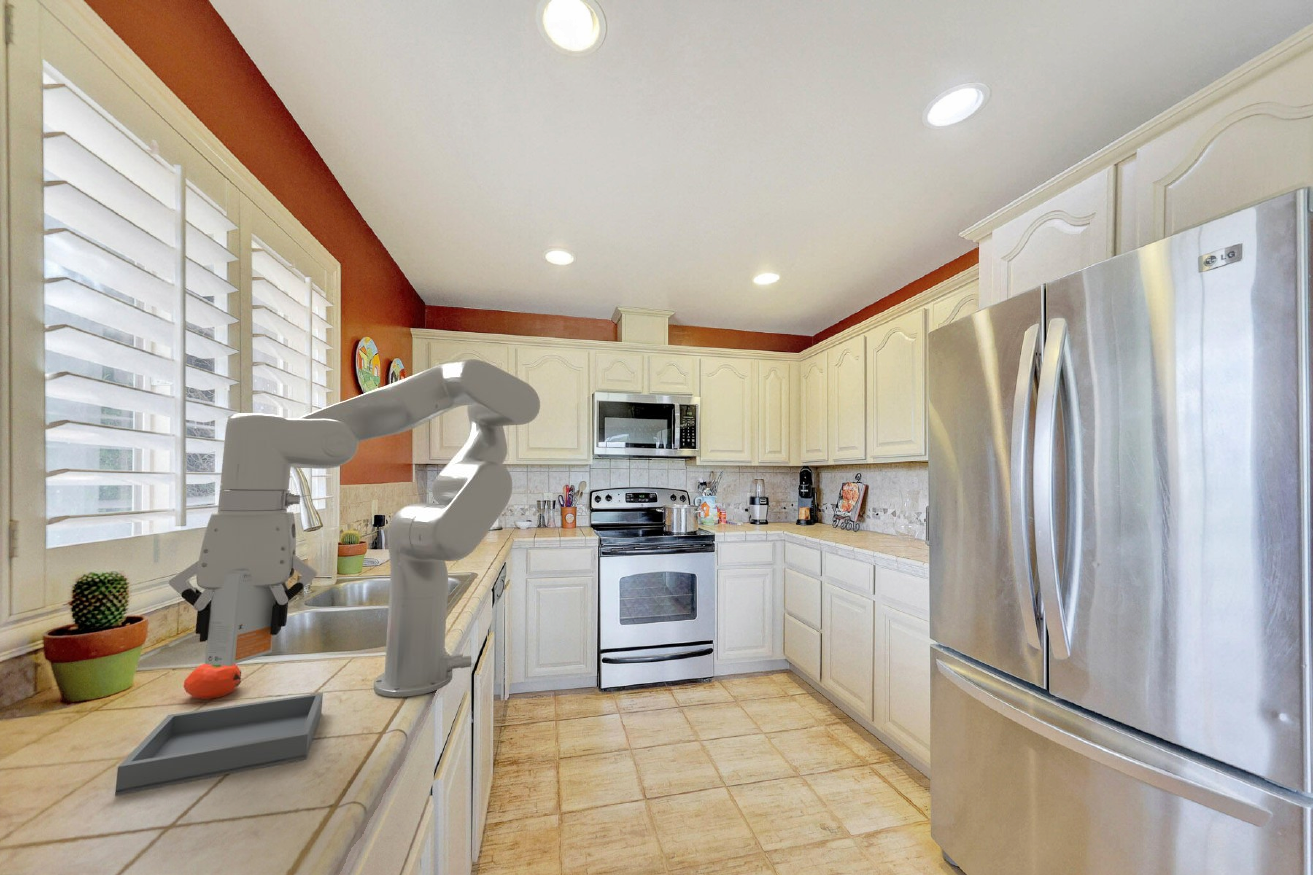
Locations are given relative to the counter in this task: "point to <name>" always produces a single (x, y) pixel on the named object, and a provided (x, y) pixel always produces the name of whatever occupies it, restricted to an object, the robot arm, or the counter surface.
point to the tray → (221, 742)
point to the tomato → (212, 681)
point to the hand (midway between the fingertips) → (242, 634)
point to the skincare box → (239, 621)
